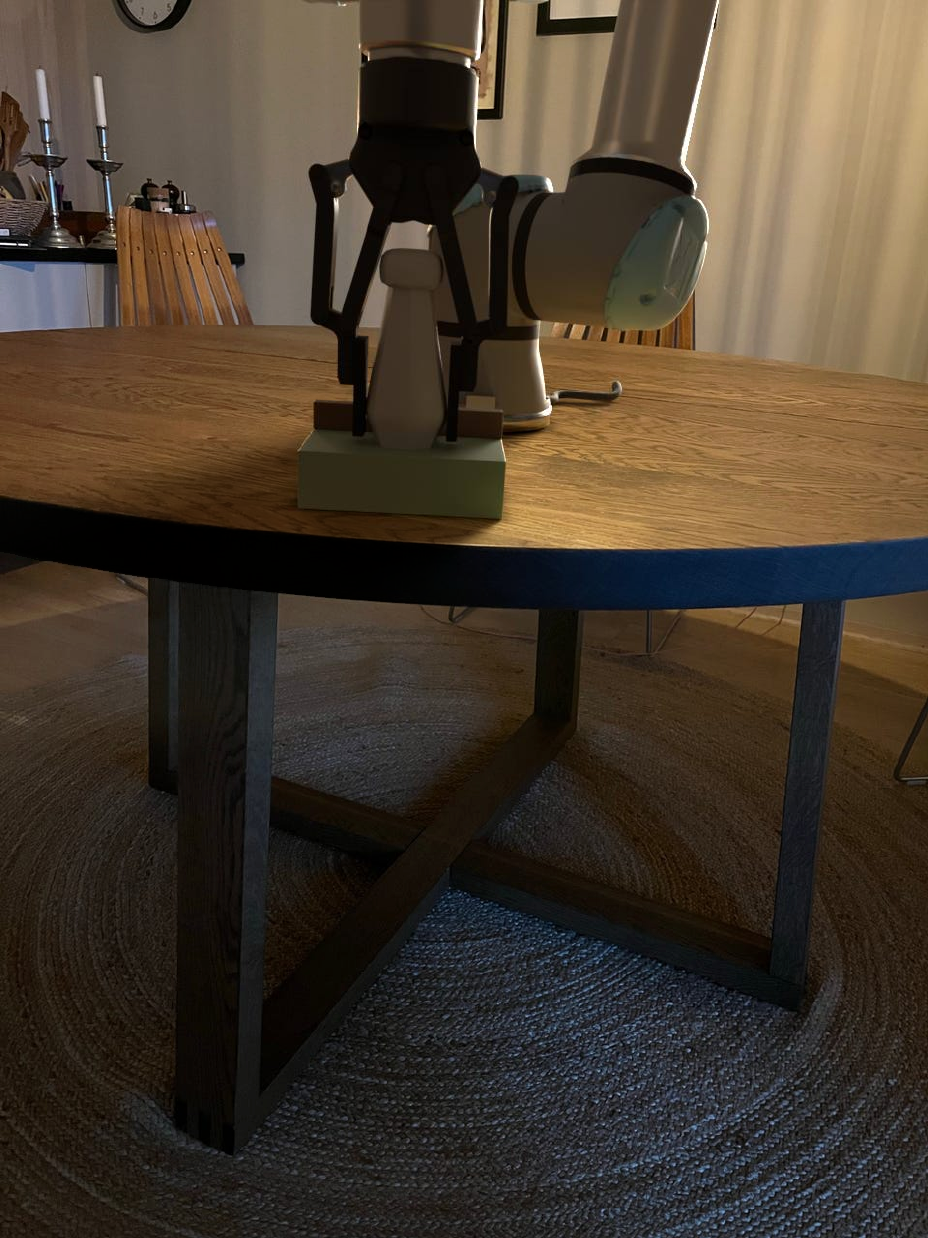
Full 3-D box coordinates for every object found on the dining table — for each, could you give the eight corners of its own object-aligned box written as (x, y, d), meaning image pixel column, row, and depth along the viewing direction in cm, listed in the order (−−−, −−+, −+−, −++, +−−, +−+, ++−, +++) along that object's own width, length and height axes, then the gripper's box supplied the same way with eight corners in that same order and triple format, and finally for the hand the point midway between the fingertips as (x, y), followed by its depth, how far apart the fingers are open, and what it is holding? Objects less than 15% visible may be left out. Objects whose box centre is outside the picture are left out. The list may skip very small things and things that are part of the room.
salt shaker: (364, 434, 73) (368, 245, 68) (442, 437, 73) (451, 249, 69) (364, 451, 67) (368, 246, 63) (448, 454, 68) (458, 252, 63)
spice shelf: (315, 478, 76) (315, 399, 74) (497, 487, 77) (502, 409, 75) (297, 508, 68) (297, 420, 66) (502, 519, 68) (508, 432, 66)
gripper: (563, 81, 66) (534, 433, 74) (277, 63, 65) (280, 418, 73) (575, 63, 59) (542, 453, 67) (256, 42, 58) (262, 437, 66)
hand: (405, 434), depth 70 cm, fingers closed on salt shaker, 6 cm apart
